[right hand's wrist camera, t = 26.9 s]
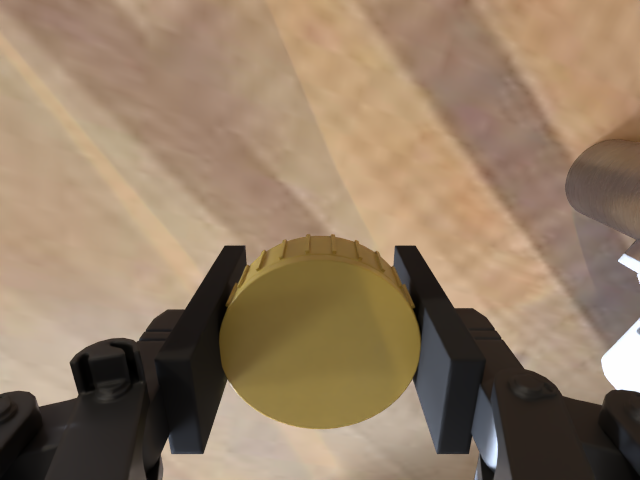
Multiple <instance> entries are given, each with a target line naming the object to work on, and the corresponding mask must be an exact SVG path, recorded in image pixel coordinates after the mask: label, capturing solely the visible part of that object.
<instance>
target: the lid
mask: <svg viewBox="0 0 640 480" xmlns="http://www.w3.org/2000/svg"><path fill="white" fill-rule="evenodd" d="M225 306H226V307H228V308H227V310H226V313H225V315H224V318H223V320H222V323H221V327H220V332H219V346H220V356H221V364H222V368H223V370H224V373H225V375H226V377H227V379H228V381H229V382H230V384H231V386H232V387H233V388H234V390H235V391H236V392H237V394H238V395H239V396H240V397H241V398H242V399H243V400H244V401H245V402H246V403H247V404H249V405H250V406H251V407H253V408H254V409H255V410H257V411H258V412H260V413H262V414H263V415H265V416H267V417H269V418H271V419H273V420H276V421H278V422H281V423H284V424H287V425H291V426H296V427H300V428H309V429H331V428H339V427H344V426H349V425H352V424H356V423H359V422H362V421H364V420H366V419H369V418H371V417H373V416H375V415H377V414H378V413H380V412H382V411H383V410H385V409H386V408H387V407H389V406H390V405H391V404H392V403H393V402H395V401H396V400H397V399H398V398H399V397H400V396H401V394H402V393H403V392H404V391H405V390H406V388H407V387H408V385H409V384H410V382H411V381H412V379H413V376H414V374H415V372H416V370H417V367H418V363H419V357H420V349H421V334H420V328H419V324H418V321H417V319H416V316H415V313H414V311H413V309H412V308H415V306H414V303H413V301H412V299H411V297H410V294H409V292H408V290H407V288H406V285H405V284H403V285H402V283H401V281H400V278H399V276H398V274H397V271H396V269H395V267H394V266H392V267H391V266H390V265H389V264H388V263H387V262H386V261H385V260H384V259H383V258H381V257H380V254H379V252H378V251H376V252H373V251H372V250H370V249H368V248H366V247H365V246H363V245H360V244H359V241H357V240H355V242H353V241H350V240H346V239H342V238H337V237H335V235H333V234H331V237H330V236H310V234H307V235H306V237H302V238H298V239H293V240H290V241H287V240H283V242H282V244H279V245H277V246H275V247H273V248H272V249H270V250H268V251H267V252H266V251H265V250H264V251H262V253H261V256H260V257H258V258H257V259H256V260H255V261H254V262H253V263H252V264H251V265H250V266H249V265H247V266H246V267H245V269H244V272H243V274H242V276H241V279H240V281H239V283H235V285H234V287H233V289H232V292H231V294H230V296H229V298H228V301H227V303H226V305H225Z"/></svg>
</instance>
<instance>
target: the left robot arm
mask: <svg viewBox="0 0 640 480" xmlns="http://www.w3.org/2000/svg"><path fill="white" fill-rule="evenodd" d="M618 262H620V263H622V264H623V265H625V266H627V267H629V268H630V269H632V270H634V271H635V272H637V273H639V274H638V275H637V276H638V279H639V282H640V239H637V240H636V241H635V242H634V243H633V244H632V245H631V246H630V248H629V249H628V250H627V251H626V252H625V254H623V255H622V256H621V258H620V259H619V260H618ZM601 361H602V367H603V371H604V375H605V376H606V378H607V379H608V380H609V381H610V383H611V384H612V385H613V386H614V387H615V388H616V389H617V390H620V389H624V390H631V391H637V392H640V318H639V319H638V321H637V322H636V323H635V324H634V325H633V326H632V327H631V328H630V329H629V330H628V331H627V332H626V333H625V334H624V335H623V336H622V337H621V338H620V339H619V340H618V341H617V342H616V343H615V344H614V345H613V346H612V347H611V348H610V349H609V350H608V351H607V352H606V353H605V354H604V356H603V357H602V360H601Z"/></svg>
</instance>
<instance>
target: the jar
mask: <svg viewBox="0 0 640 480" xmlns="http://www.w3.org/2000/svg"><path fill="white" fill-rule="evenodd" d="M565 190H566V196H567V199H568V201H569V203H570V204H571V206H572V207H573V208H574V209H575V210H577V211H578V212H580V213H582V214H584V215H586V216H588V217H590V218H592V219H594V220H596V221H599V222H601V223H603V224H605V225H607V226H609V227H611V228H613V229H615V230H617V231H619V232H621V233H624V234H626V235H628V236H630V237H632V238H634V239H636V240H637V239H640V143H638V142H632V141H626V140H621V139H613V140H607V141H603V142H600V143H598V144H595V145H593V146H592V147H590V148H588V149H587V150H586V151H584V152H583V153H582V154H581V155H580V156H579V157H578V158H577V159H576V160H575V162H574V163H573V165H572V166H571V168H570V170H569V173H568V175H567V179H566V184H565Z"/></svg>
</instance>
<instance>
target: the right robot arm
mask: <svg viewBox="0 0 640 480" xmlns="http://www.w3.org/2000/svg"><path fill="white" fill-rule="evenodd" d="M246 266H247V263H246V250H245V246H224V248H223V249H222V251H221V253H220V254H219V256H218V257H217V259H216V261H215V262H214V264H213V265H212V267H211V269H210V270H209V272H208V274H207V275H206V277H205V278H204V280H203V282H202V283H201V285H200V286H199V288H198V290H197V291H196V293H195V294H194V296H193V298H192V299H191V301H190V302H189V304H188V306H187V307H186V309H185V310H166V311H165V312H163V313H162V314H160V315H159V316H157V317H156V318H155V319H154V320H153V321H152V322H151V324H150V325H149V326H148V328H147V329H146V332H144V333H143V334H142V336H141V337H140V339H139V341H137V343H136V342H135V341H134V340H131V339H126V338H113V339H108V340H104V341H100V342H97V343H95V344H93V345H90V346H88V347H86V348H84V349H83V350H82V351H80V352H79V353H77V354H76V355H75V356H74V358H73V359H72V360H71V361H70V366H71V369H72V373H73V376H74V380H75V383H76V387H77V391H78V394H79V395H78V397H77V398H75V399H71V400H68V401H63V402H59V403H54V404H50V405H45V406H41V407H38V404H37V401H36V398H35V396H34V395H32V394H31V393H30V392H24V391H14V392H7V393H3V394H0V480H162V477H163V464H162V458H161V452H162V450H163V448H164V445H165V443H166V441H167V439H168V438H169V443H170V449H171V454H203V453H204V450H205V447H206V444H207V441H208V438H209V435H210V432H211V428H212V425H213V422H214V419H215V416H216V413H217V410H218V407H219V404H220V401H221V398H222V394H223V391H224V388H225V385H226V382H227V377H226V375H225V373H224V370H223V368H222V364H221V356H220V346H219V332H220V327H221V323H222V320H223V318H224V315H225V313H226V310H227V308H228V307H226V306H225V305H226V303H227V301H228V298H229V296H230V294H231V292H232V289H233V287H234V285H235V283H239V281H240V279H241V276H242V274H243V272H244V269H245V267H246ZM394 267H395V269H396V271H397V274H398V276H399V278H400V281H401V283H402V285H403V284H405V285H406V288H407V290H408V292H409V294H410V297H411V299H412V301H413V303H414V306H415V308H412V309H413V311H414V313H415V316H416V319H417V321H418V324H419V328H420V334H421V349H420V357H419V363H418V367H417V370H416V372H415V374H414V376H413V381H414V384H415V388H416V391H417V394H418V397H419V400H420V403H421V406H422V409H423V412H424V415H425V418H426V422H427V425H428V428H429V431H430V434H431V437H432V440H433V443H434V446H435V449H436V453H437V454H469V450H470V445H471V439H472V436H473V438H474V441H475V443H476V445H477V447H478V450H479V452H480V453H479V458H478V463H477V468H476V473H475V478H474V480H640V392H637V391H631V390H624V389H620V390H612V391H610V392H609V393H608V394H606V396H605V399H604V402H603V405H598V404H593V403H589V402H584V401H580V400H575V399H571V398H568V397H564V396H562V394H561V393H560V391H559V390H558V388H557V387H556V385H554V384H553V383H552V382H551V381H549V380H548V379H547V378H545V377H543V376H541V375H539V374H537V373H535V372H533V371H529V370H526V369H524V368H523V366H522V365H521V364H520V362H519V361H518V360H517V358H516V357H515V356H514V354H513V353H512V351H511V350H510V349H509V347H508V346H507V345H506V343H505V342H504V341H503V340H501V337H500V335H499V334H498V333H497V331H495V330H494V329H495V328H494V327H493V326H492V324H491V323H490V322H489V320H488V319H487V318H486V317H485V316H483V315H482V314H480V313H479V312H477V311H476V310H474V309H473V308H454V307H453V305H452V304H451V302H450V300H449V299H448V297H447V296H446V294H445V292H444V291H443V289H442V288H441V286H440V284H439V283H438V281H437V280H436V278H435V276H434V275H433V273H432V272H431V270H430V268H429V267H428V265H427V263H426V262H425V260H424V259H423V257H422V255H421V254H420V252H419V251H418V249H417V247H416V246H395V253H394Z"/></svg>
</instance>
